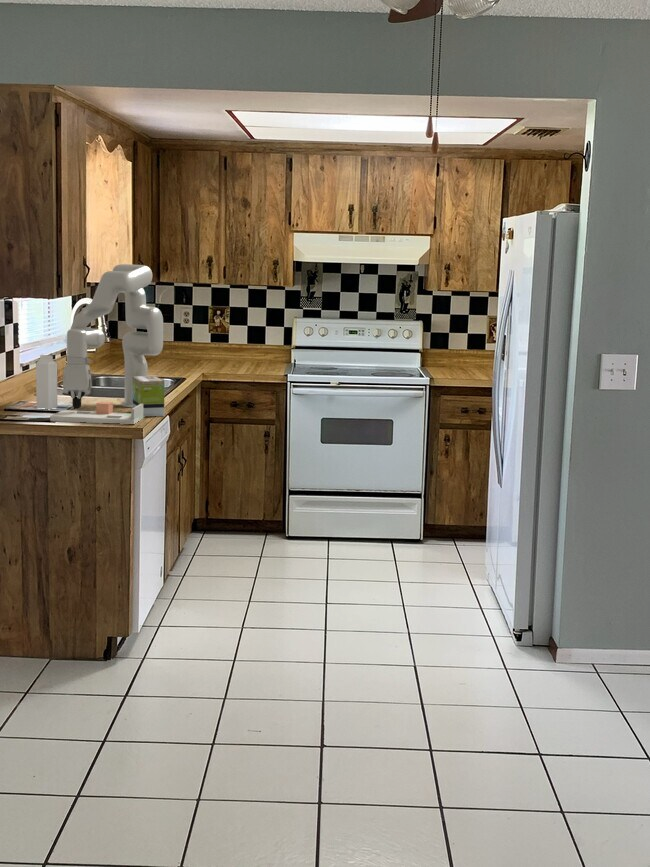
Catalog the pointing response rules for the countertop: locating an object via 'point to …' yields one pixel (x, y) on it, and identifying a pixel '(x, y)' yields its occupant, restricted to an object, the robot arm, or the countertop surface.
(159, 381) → the tea box
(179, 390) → the countertop surface
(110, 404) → the block
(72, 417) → the board
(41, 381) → the milk
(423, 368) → the countertop surface
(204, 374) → the countertop surface
